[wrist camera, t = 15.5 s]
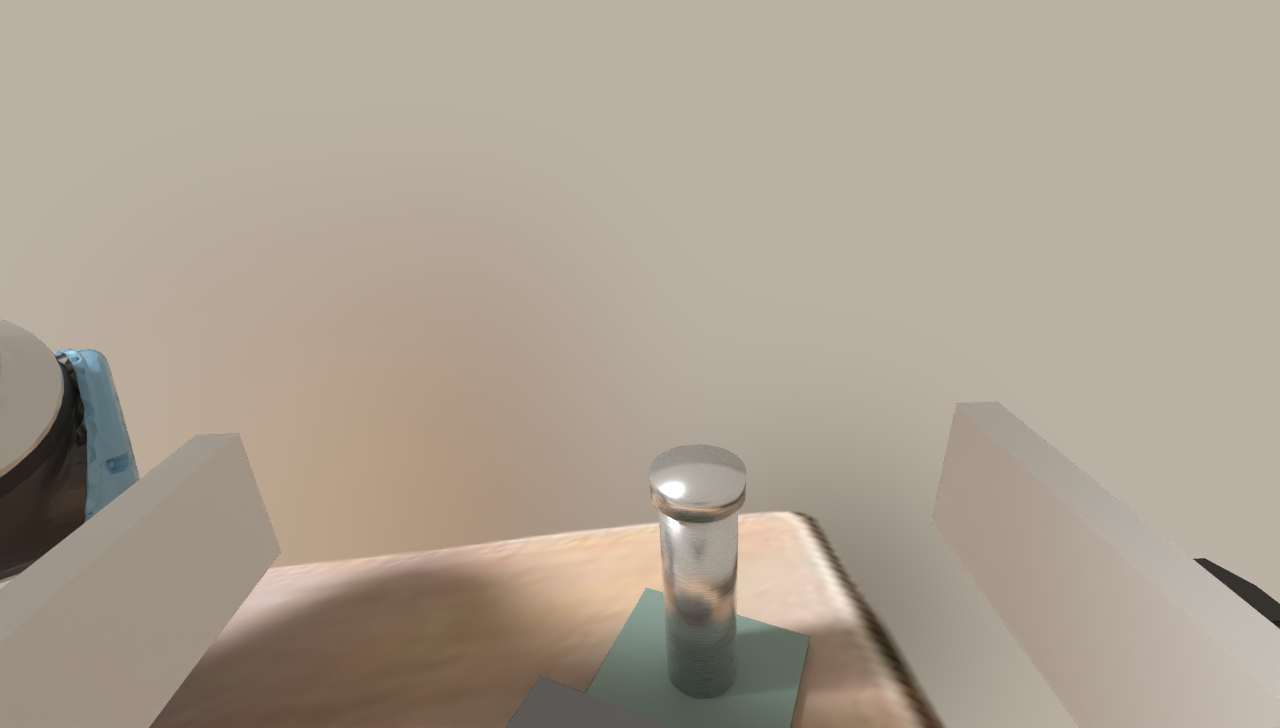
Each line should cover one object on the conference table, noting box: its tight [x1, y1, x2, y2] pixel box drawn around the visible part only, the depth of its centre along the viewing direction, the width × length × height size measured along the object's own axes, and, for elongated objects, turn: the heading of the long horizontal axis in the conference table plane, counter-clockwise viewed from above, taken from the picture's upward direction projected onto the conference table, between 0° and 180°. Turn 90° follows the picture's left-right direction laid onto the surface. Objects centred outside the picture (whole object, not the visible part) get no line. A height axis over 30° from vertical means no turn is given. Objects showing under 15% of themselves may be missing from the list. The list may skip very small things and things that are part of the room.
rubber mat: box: [586, 588, 810, 728], centre depth 38 cm, size 12×10×1 cm
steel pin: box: [649, 445, 746, 699], centre depth 35 cm, size 5×5×15 cm
